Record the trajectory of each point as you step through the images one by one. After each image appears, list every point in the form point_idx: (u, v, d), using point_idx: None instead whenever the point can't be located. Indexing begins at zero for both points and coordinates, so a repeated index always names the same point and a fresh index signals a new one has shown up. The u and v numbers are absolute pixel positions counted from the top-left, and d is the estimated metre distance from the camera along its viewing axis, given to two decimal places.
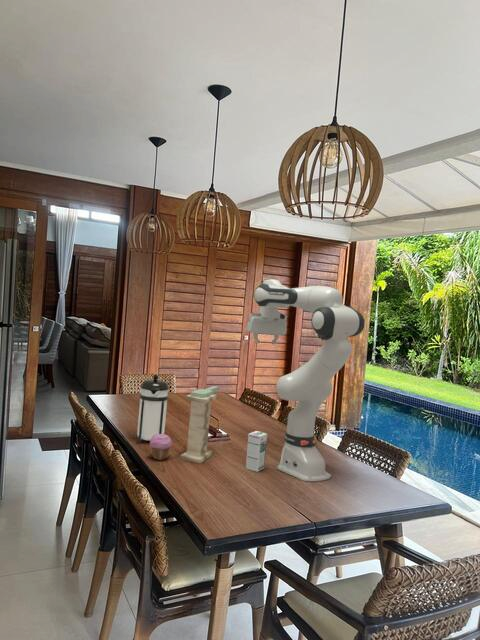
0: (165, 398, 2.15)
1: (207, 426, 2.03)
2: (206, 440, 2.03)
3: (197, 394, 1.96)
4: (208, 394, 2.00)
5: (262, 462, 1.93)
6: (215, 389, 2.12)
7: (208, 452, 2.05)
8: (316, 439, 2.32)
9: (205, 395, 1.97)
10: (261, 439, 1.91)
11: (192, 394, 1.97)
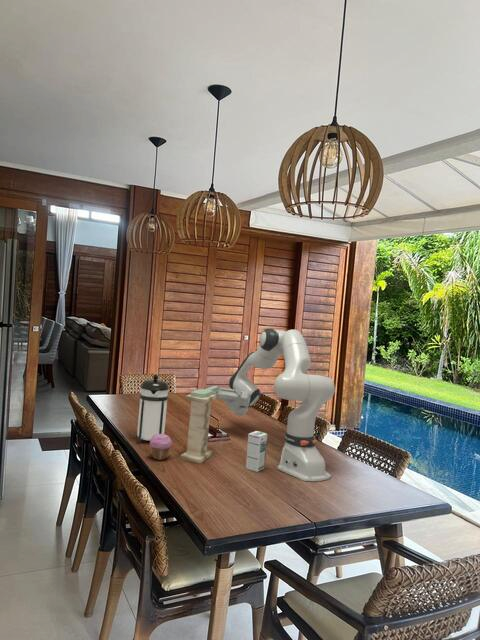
0: (165, 398, 2.15)
1: (207, 426, 2.03)
2: (206, 440, 2.03)
3: (197, 394, 1.96)
4: (208, 394, 2.00)
5: (262, 462, 1.93)
6: (215, 389, 2.12)
7: (208, 452, 2.05)
8: (315, 439, 2.32)
9: (205, 395, 1.97)
10: (261, 439, 1.91)
11: (192, 394, 1.97)
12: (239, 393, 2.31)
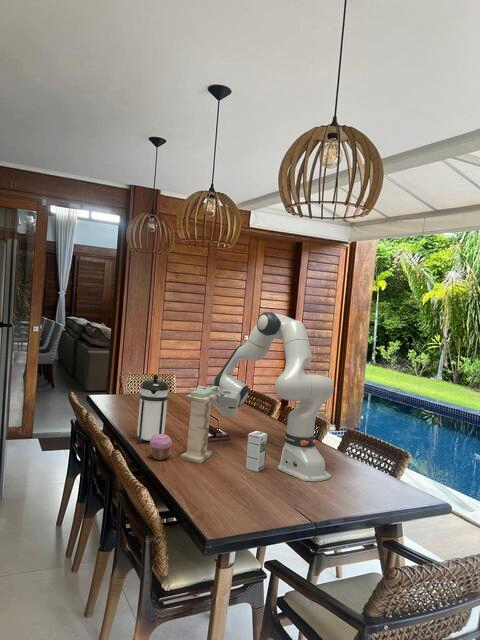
0: (165, 398, 2.15)
1: (207, 426, 2.03)
2: (206, 440, 2.03)
3: (197, 394, 1.96)
4: (208, 394, 2.00)
5: (262, 462, 1.93)
6: (215, 389, 2.12)
7: (208, 452, 2.05)
8: None
9: (205, 395, 1.97)
10: (261, 439, 1.91)
11: (192, 394, 1.97)
12: (221, 392, 2.14)
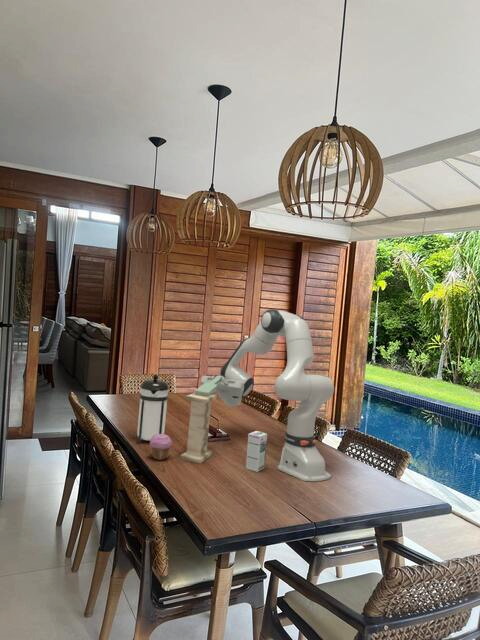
0: (165, 398, 2.15)
1: (207, 426, 2.03)
2: (206, 440, 2.03)
3: (201, 392, 2.01)
4: (212, 390, 2.04)
5: (262, 462, 1.93)
6: (219, 380, 2.16)
7: (208, 452, 2.05)
8: None
9: (209, 393, 2.01)
10: (261, 439, 1.91)
11: (197, 392, 2.02)
12: (226, 381, 2.18)
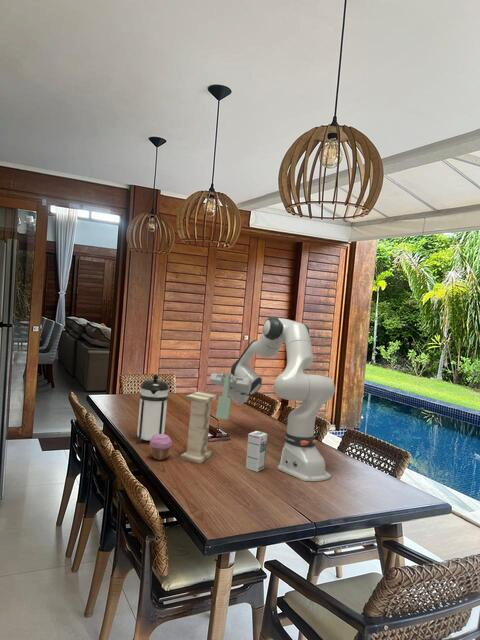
0: (165, 398, 2.15)
1: (207, 426, 2.03)
2: (206, 440, 2.03)
3: (222, 418, 2.28)
4: (229, 409, 2.27)
5: (262, 462, 1.93)
6: (229, 383, 2.29)
7: (208, 452, 2.05)
8: None
9: (228, 416, 2.27)
10: (261, 439, 1.91)
11: (218, 417, 2.29)
12: (234, 379, 2.29)
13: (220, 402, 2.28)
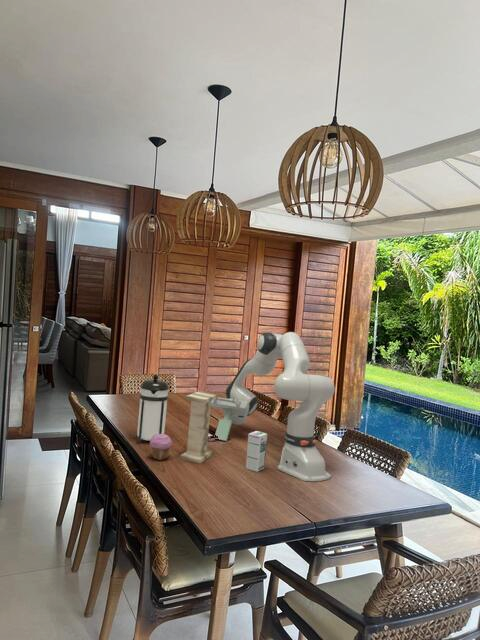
0: (165, 398, 2.15)
1: (207, 426, 2.03)
2: (206, 440, 2.03)
3: (220, 439, 2.28)
4: (228, 431, 2.30)
5: (262, 462, 1.93)
6: None
7: (208, 452, 2.05)
8: None
9: (227, 437, 2.28)
10: (261, 439, 1.91)
11: None
12: (238, 403, 2.29)
13: (221, 424, 2.32)
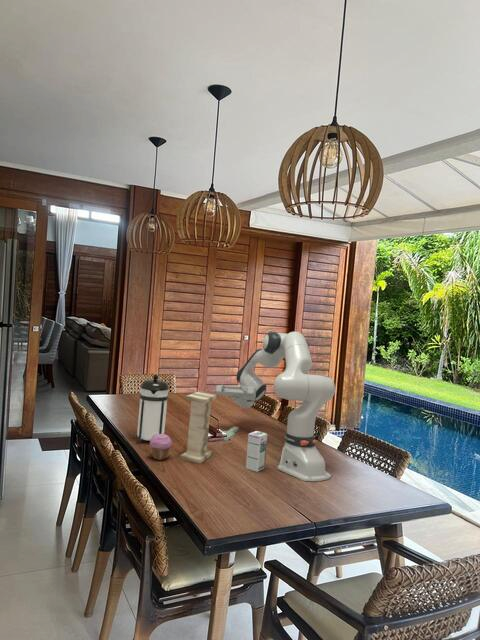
0: (165, 398, 2.15)
1: (207, 426, 2.03)
2: (206, 440, 2.03)
3: None
4: (230, 436, 2.34)
5: (262, 462, 1.93)
6: (235, 430, 2.46)
7: (208, 452, 2.05)
8: None
9: (228, 438, 2.31)
10: (261, 439, 1.91)
11: None
12: (245, 389, 2.37)
13: (224, 432, 2.38)
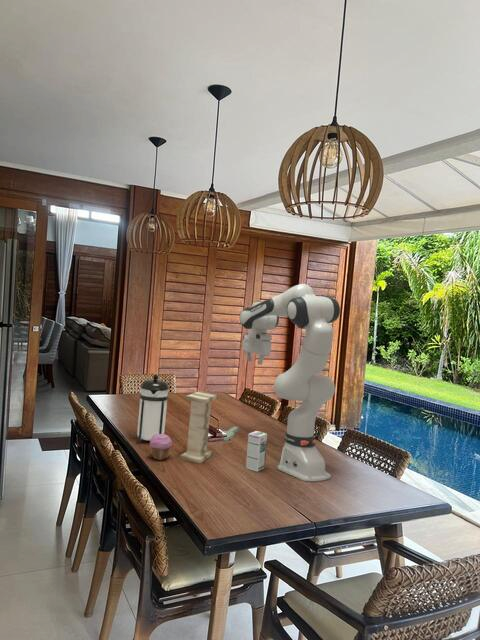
0: (165, 398, 2.15)
1: (207, 426, 2.03)
2: (206, 440, 2.03)
3: None
4: (230, 437, 2.34)
5: (262, 462, 1.93)
6: (235, 430, 2.46)
7: (208, 452, 2.05)
8: None
9: (228, 438, 2.31)
10: (261, 439, 1.91)
11: None
12: (262, 359, 2.31)
13: (224, 432, 2.38)
